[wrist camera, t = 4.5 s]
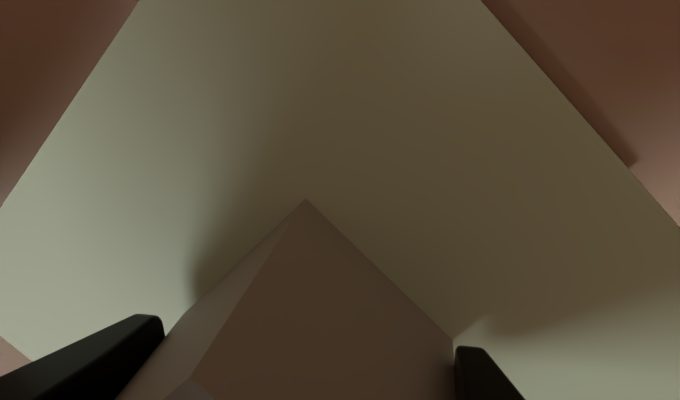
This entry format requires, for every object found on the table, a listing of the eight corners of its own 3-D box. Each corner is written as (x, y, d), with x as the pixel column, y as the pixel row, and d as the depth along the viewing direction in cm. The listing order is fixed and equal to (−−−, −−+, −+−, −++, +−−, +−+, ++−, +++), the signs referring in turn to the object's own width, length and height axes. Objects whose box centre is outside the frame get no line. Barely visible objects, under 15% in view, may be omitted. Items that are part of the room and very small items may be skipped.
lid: (-14, 267, 11) (-352, 461, 6) (307, -187, 6) (9, -688, 2) (331, 550, 12) (273, 873, 8) (765, 333, 8) (1216, 758, 3)
